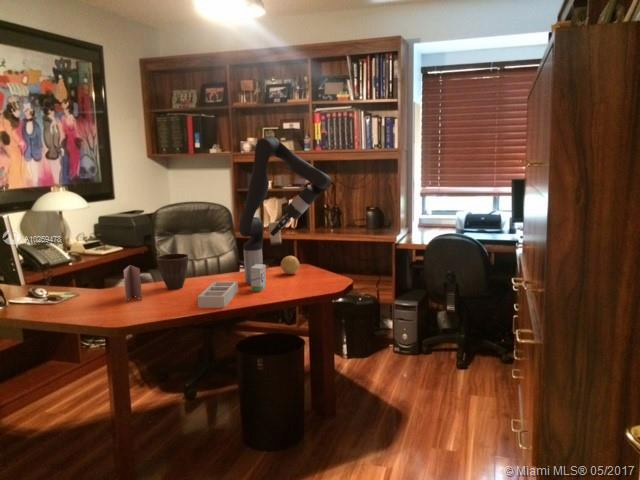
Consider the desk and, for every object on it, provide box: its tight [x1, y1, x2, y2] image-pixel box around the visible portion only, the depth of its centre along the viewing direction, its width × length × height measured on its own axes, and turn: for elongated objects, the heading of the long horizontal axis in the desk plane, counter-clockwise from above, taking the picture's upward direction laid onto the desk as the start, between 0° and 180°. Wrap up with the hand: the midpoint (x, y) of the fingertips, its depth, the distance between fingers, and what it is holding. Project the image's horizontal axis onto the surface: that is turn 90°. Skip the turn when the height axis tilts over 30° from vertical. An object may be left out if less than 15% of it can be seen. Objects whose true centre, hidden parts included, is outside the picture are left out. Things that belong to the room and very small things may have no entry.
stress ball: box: [280, 255, 300, 275], centre depth 289 cm, size 10×10×10 cm
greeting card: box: [123, 264, 143, 302], centre depth 248 cm, size 11×7×15 cm, turn 5°
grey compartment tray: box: [197, 281, 239, 309], centre depth 244 cm, size 26×11×5 cm, turn 175°
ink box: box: [250, 264, 267, 293], centre depth 259 cm, size 9×5×12 cm, turn 168°
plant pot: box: [156, 253, 189, 291], centre depth 266 cm, size 15×15×16 cm
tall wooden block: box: [268, 221, 283, 246], centre depth 248 cm, size 4×4×10 cm
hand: (272, 233), depth 248 cm, fingers closed on tall wooden block, 4 cm apart
